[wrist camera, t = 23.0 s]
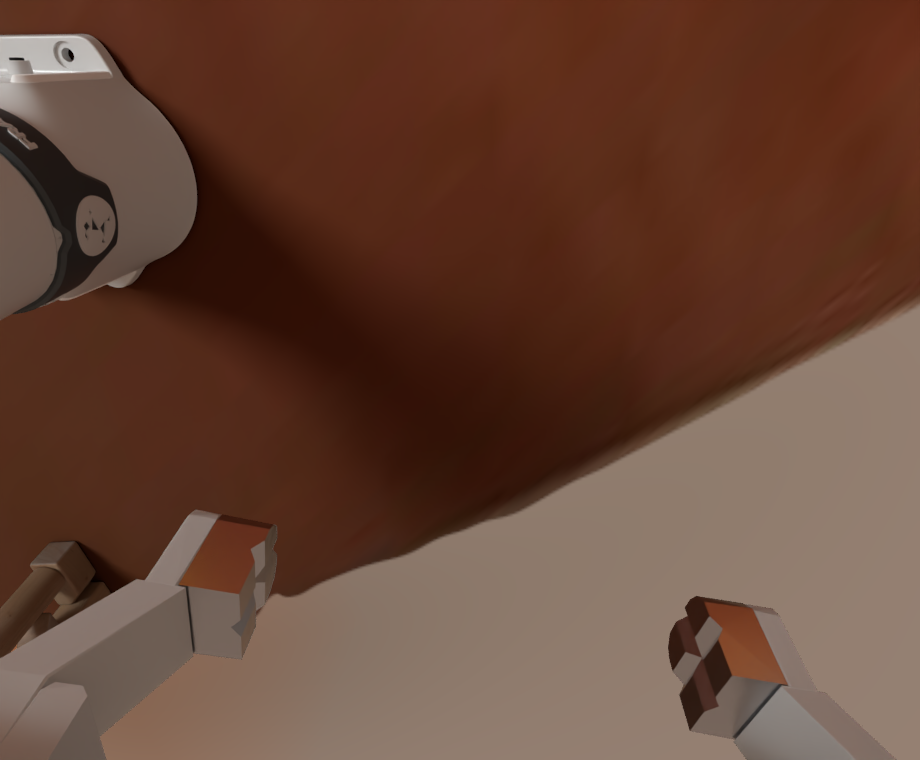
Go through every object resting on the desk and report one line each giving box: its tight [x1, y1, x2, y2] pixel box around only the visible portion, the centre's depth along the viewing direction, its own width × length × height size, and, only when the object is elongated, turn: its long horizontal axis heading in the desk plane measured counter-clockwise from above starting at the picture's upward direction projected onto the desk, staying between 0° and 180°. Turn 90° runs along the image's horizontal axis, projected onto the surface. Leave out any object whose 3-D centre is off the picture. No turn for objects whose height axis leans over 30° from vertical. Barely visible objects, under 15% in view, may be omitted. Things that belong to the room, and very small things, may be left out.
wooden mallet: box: [0, 541, 111, 658], centre depth 61 cm, size 4×11×18 cm, turn 7°
